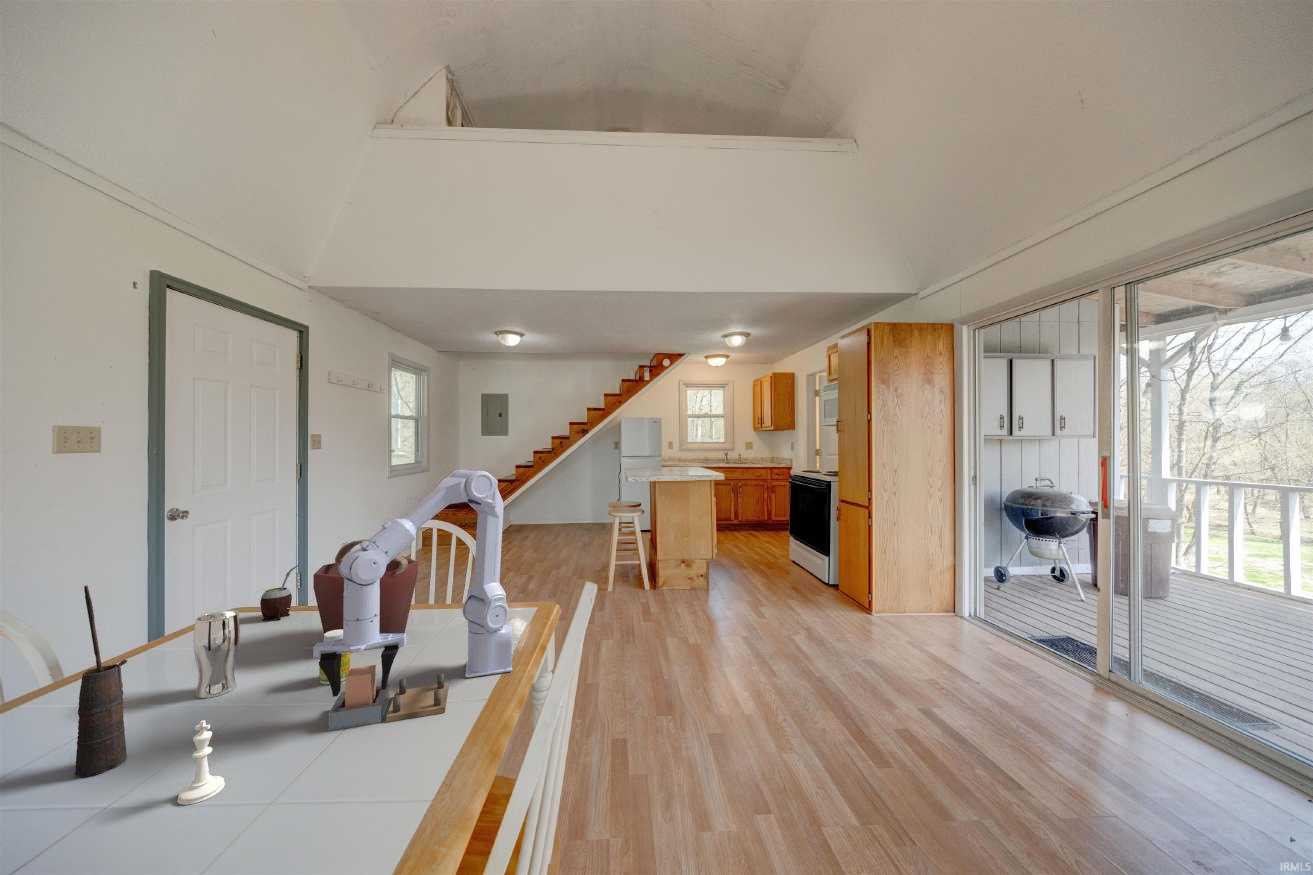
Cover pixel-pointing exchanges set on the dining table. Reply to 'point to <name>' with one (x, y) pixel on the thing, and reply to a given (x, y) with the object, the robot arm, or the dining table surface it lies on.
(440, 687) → the board
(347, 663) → the supplement bottle
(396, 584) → the bucket
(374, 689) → the pin
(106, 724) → the butter churn
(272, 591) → the mate gourd
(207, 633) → the beer glass
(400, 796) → the dining table surface
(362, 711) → the socket collar
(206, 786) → the chess piece
